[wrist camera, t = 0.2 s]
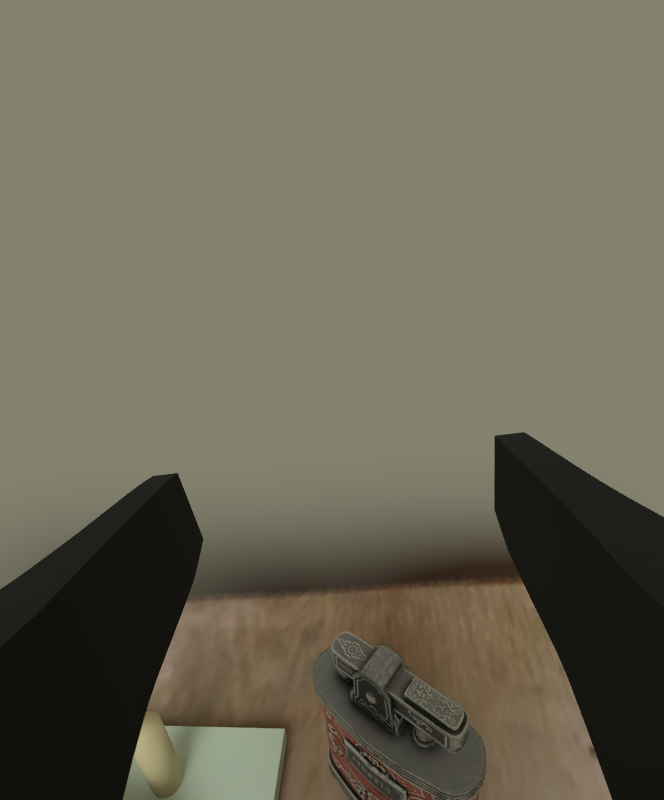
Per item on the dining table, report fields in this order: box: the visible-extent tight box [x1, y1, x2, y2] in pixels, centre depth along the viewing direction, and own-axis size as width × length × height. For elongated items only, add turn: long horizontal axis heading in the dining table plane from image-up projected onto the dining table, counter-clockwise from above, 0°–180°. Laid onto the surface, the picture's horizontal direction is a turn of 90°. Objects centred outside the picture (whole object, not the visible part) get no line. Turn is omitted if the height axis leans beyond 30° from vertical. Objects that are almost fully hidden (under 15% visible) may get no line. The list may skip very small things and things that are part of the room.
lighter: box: [313, 631, 486, 800], centre depth 20 cm, size 8×3×10 cm, turn 50°
